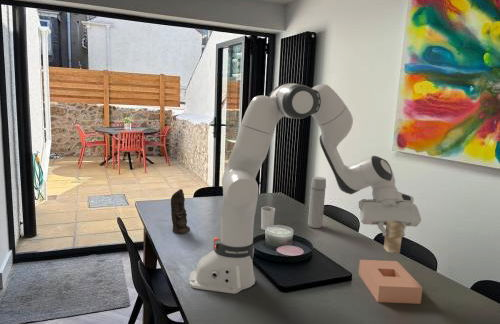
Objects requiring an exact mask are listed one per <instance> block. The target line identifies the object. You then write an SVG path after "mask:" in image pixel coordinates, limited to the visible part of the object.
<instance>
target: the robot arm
mask: <svg viewBox="0 0 500 324" xmlns="http://www.w3.org/2000/svg"><path fill="white" fill-rule="evenodd" d="M310 116H312V118H313V119H314V121H315V122H316V123H317V126H318V127H319V128H320V132H321V135H320V136H319V144H320V148H321V149H322V152H323V155H324V156H325V158H326V160H327V162H328V164H329V166H330V169H331V170H332V173H333V175H334V178H335V180H336V183H337V186H338V188H339V190H341V192H344V193H346V194H347V195H353V194H356V193H358V192H359V191H361V190H363V189H366V188H369V187H371V189H372V193H371V194H372V199H371V198H369V199H366V198H362V199H361V200H359V201H358V208H359V210H360V213H359V215H360V216H359V217H360V222H361V223H362V224H363V225H372V226H373V225H374V226H377V228H378V229H379V231H380V232H382V236H383V237H385V236H389V233H388V232H389V231H388V230H386V227H384V226H386V223H387V221H399V222H401V223H402V224H403V231H402V238H405V236H406V234H405V230H406V228H407V227H417V226H419V225H420V224H421V222H422V217H421V214H420V211H419V209H418V206H417V205H416V204H415V203H414V202H415V199H414V197H413V196H412V195H409V194H406V193H403V192H401V191H398V189H397V187H396V178H395V175H394V171H393V168H392V166H391V164H390V163H389V162H388V160H387V159H385V158H382V157H380V156H377V155H371V156H369V157H367V158H363V159H361V160H360V161H357V162H355V163H353V164H350V165H347V164H346V165H345V163H344V161H343V159H342V158H341V155H340V153H339V151H338V149H337V148H338V146H339V145H340V143H342V141H343V140H344V139H345V138H346V137H347V136H348V135H349V133H350V132H351V130H352V127H353V123H354V122H353V121H354V119H353V116H352V113H351V111H350V109H349V108H348V106H347V105H346V103H345V102H344V100H343V99H342V98H341V97H340V96H339V94H338V93H337V92H336V91H335V90H334V89H333V88H332V87H331V86H330V85H328V84H326V83H325V84H324V83H320V84H317V85H315V86H313V87H309V86H307V85H304V84H299V83H294V82H293V83H292V82H289V83H282V84H280V85H278V86H276V87H275V88H274V89H273V90H272V91H271V92H270V93H269V94H268V95H263V94H262V95H256V96H254V97H253V98H252V100H250V103H249V104H248V106H247V108H246V110H245V112H244V115H243V118H242V120H241V123H240V127H239V130H238V132H237V136H236V139H235V142H234V145H233V147H232V151H231V152H230V156H229V159H228V161H227V164H226V165H225V169H224V172H223V174H222V177H221V186H222V195H223V196H222V208H221V216H220V234H219V235H220V238H219V237H218V236H214V238H213V249H212V250H211V251H209V252H208V253H207V254H205V255H203V256H202V257H201V258H200V259H199V260H198V263H197V266H196V268H193V270H192V271H191V273H190V275H189V280H188V283H189V286H190V287H191V288H193V289H199V290H204V291H205V290H206V291H211V292H220V293H227V294H234V295H235V294H238V293H239V292H241V291H243V290H246V289H248V288H251V287H252V286H253V285H254V284H255V282H256V277H255V273H254V272H255V271H254V265H253V259H254V253H255V243H254V242H255V241H254V223H255V215H256V212H257V211H256V210H257V204H258V198H259V197H258V196H259V185H258V182H257V180H256V179H257V176H258V173H259V171H260V168H261V167H262V165H263V163H264V161H265V160H266V158H267V157H268V156H267V155H268V152H269V149H270V146H271V143H272V139H273V137H274V133H275V131H276V127H277V125H278V124H279V121H280V120H282V118H283V117H285V118H289V119H296V120H301V119H306V118H307V117H310Z"/></svg>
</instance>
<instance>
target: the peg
mask: <svg viewBox="0 0 500 324" xmlns="http://www.w3.org/2000/svg"><path fill="white" fill-rule="evenodd" d="M385 229H386V230H388V231H389V232H388V233H389V236H384V240H383V241H384V243H383V249H384V250H385V251H386V252H387V253H391V254H392V253H393V254H394V253H395V254H400V253H401V244H402V239H403V237H402V231H403V224H402V223H401V222H399V221H387V223H386V225H385Z"/></svg>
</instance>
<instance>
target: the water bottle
mask: <svg viewBox="0 0 500 324" xmlns="http://www.w3.org/2000/svg"><path fill="white" fill-rule="evenodd" d="M326 189H327V179H326V177H321V176H313V177H312V179H311V185H310V195H309V196H310V197H309V205H308V207H309V208H308V219H307V220H308V221H307V225H308V226H309V227H310V228H313V229H320V228H322V227H323V222H324V221H323V220H324V209H325V208H324V207H325V198H326Z"/></svg>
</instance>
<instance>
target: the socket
mask: <svg viewBox="0 0 500 324" xmlns="http://www.w3.org/2000/svg"><path fill="white" fill-rule="evenodd" d="M357 273H358V275H359V277H360V278H361V281H363V283H364V284H365V286H366V287H367V289H368V290H369V291H370V293H371V295H372V297H374V299H375V300H376V302H377V303H389V304H390V303H393V304H419V305H420V304H421V303H422V295H423V286H421V284H420V283H419V282H418V281H417V280H416V279H414V277H413V276H412V275H411V274H410V273H409V272H408V271H407V269H406V268H404V267H403V265H402V264H401V263H399V262H398V260H378V259H377V260H376V259H375V260H373V259H359V265H358V272H357ZM421 305H422V304H421Z"/></svg>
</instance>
